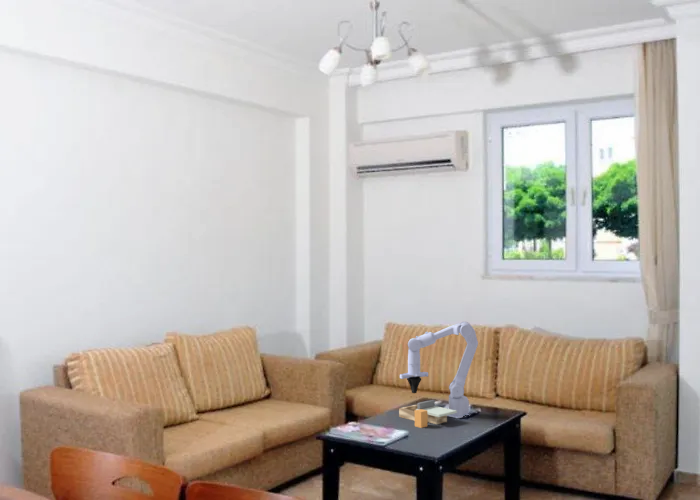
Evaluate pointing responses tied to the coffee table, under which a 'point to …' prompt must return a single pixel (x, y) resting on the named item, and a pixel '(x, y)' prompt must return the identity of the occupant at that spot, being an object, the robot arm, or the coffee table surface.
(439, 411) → the lid
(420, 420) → the orange rectangular block
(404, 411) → the wooden tray
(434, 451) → the coffee table surface
